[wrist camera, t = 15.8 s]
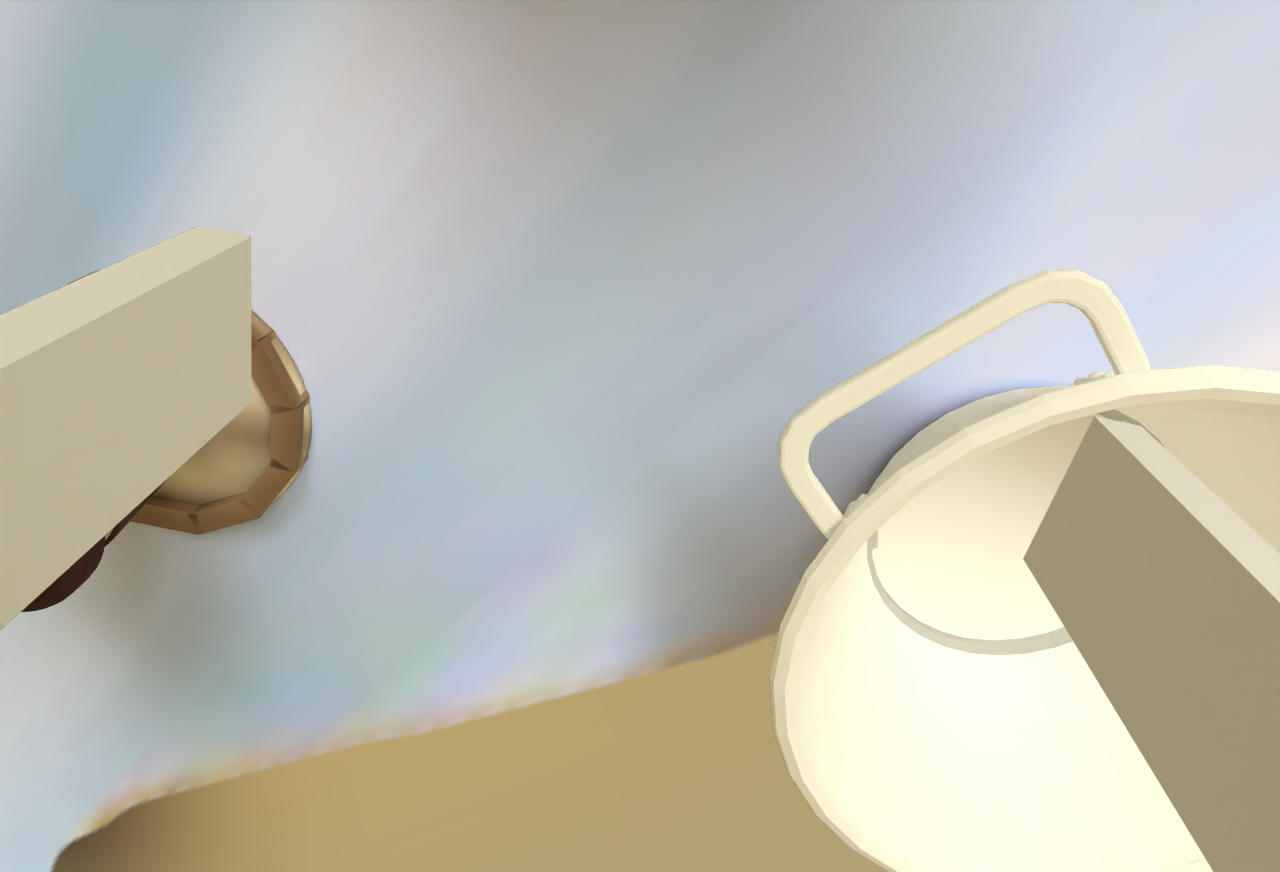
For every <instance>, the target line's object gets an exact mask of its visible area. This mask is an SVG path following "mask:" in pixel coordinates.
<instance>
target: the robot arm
mask: <svg viewBox="0 0 1280 872" xmlns="http://www.w3.org/2000/svg"><path fill="white" fill-rule="evenodd" d="M251 402H252V383H251V237H250V236H245V235H240V234H236V233H231V232H226V231H222V230H217V229H212V228H208V227H203V226H197V227H195V228H193V229H191V230H189V231H186V232H184V233H182V234H180V235H177V236H175V237H173V238H171V239H169V240H166V241H164V242H162V243H160V244H157V245H155V246H153V247H151V248H149V249H146V250H144V251H142V252H140V253H137V254H135V255H133V256H131V257H129V258H126V259H124V260H122V261H120V262H117V263H115V264H113V265H111V266H109V267H106V268H104V269H102V270H100V271H98V272H95V273H93V274H91V275H89V276H86V277H84V278H82V279H80V280H78V281H75V282H73V283H71V284H69V285H66V286H64V287H62V288H60V289H58V290H55V291H53V292H51V293H49V294H46V295H44V296H42V297H40V298H38V299H35V300H33V301H31V302H29V303H27V304H24V305H22V306H20V307H18V308H15V309H13V310H11V311H9V312H7V313H4V314H2V315H0V630H1V629H2V628H4V627H5V626H6V625H7V624H8V623H9V622H10V621H11V620H12V619H13V618H15V617H16V616H17V615H18V614H19V613H20V612H21V611H22V610H23V609H24V608H26V607H27V606H28V605H29V604H30V603H31V602H32V601H33V600H34V599H35V598H37V597H38V596H39V595H40V594H41V593H42V592H43V591H44V590H45V589H46V588H48V587H49V586H50V585H51V584H52V583H53V582H54V581H55V580H56V579H57V578H59V577H60V576H61V575H62V574H63V573H64V572H65V571H66V570H67V569H68V568H70V567H71V566H72V565H73V564H74V563H75V562H76V561H77V560H78V559H79V558H81V557H82V556H83V555H84V554H85V553H86V552H87V551H88V550H89V549H90V548H92V547H93V546H94V545H95V544H96V543H97V542H98V541H99V540H100V539H101V538H103V537H104V536H105V535H106V534H107V533H108V532H109V531H110V530H111V529H112V528H113V527H115V526H116V525H117V524H118V523H119V522H120V521H121V520H122V519H123V518H124V517H126V516H127V515H128V514H129V513H130V512H131V511H132V510H133V509H134V508H135V507H137V506H138V505H139V504H140V503H141V502H142V501H143V500H144V499H145V498H146V497H148V496H149V495H150V494H151V493H152V492H153V491H154V490H155V489H156V488H157V487H159V486H160V485H161V484H162V483H163V482H164V481H165V480H166V479H167V478H168V477H170V476H171V475H172V474H173V473H174V472H175V471H176V470H177V469H178V468H179V467H181V466H182V465H183V464H184V463H185V462H186V461H187V460H188V459H189V458H190V457H192V456H193V455H194V454H195V453H196V452H197V451H198V450H199V449H200V448H201V447H203V446H204V445H205V444H206V443H207V442H208V441H209V440H210V439H211V438H212V437H214V436H215V435H216V434H217V433H218V432H219V431H220V430H221V429H222V428H223V427H225V426H226V425H227V424H228V423H229V422H230V421H231V420H232V419H233V418H234V417H236V416H237V415H238V414H239V413H240V412H241V411H242V410H243V409H244V408H245V407H247V406H248V405H249V404H250V403H251ZM1023 560H1024V561H1025V563H1026V565H1027V566H1028V568H1029V570H1030V571H1031V573H1032V574H1033V576H1034V578H1035V579H1036V581H1037V583H1038V584H1039V586H1040V588H1041V589H1042V591H1043V593H1044V594H1045V596H1046V597H1047V599H1048V601H1049V602H1050V604H1051V606H1052V607H1053V609H1054V611H1055V612H1056V614H1057V616H1058V617H1059V619H1060V620H1061V622H1062V624H1063V625H1064V627H1065V629H1066V630H1067V632H1068V634H1069V635H1070V637H1071V639H1072V640H1073V642H1074V644H1075V645H1076V647H1077V648H1078V650H1079V652H1080V653H1081V655H1082V657H1083V658H1084V660H1085V662H1086V663H1087V665H1088V667H1089V668H1090V670H1091V671H1092V673H1093V675H1094V676H1095V678H1096V680H1097V681H1098V683H1099V685H1100V686H1101V688H1102V690H1103V691H1104V693H1105V695H1106V696H1107V698H1108V699H1109V701H1110V703H1111V704H1112V706H1113V708H1114V709H1115V711H1116V713H1117V714H1118V716H1119V718H1120V719H1121V721H1122V722H1123V724H1124V726H1125V727H1126V729H1127V731H1128V732H1129V734H1130V736H1131V737H1132V739H1133V741H1134V742H1135V744H1136V745H1137V747H1138V749H1139V750H1140V752H1141V754H1142V755H1143V757H1144V759H1145V760H1146V762H1147V764H1148V765H1149V767H1150V769H1151V770H1152V772H1153V773H1154V775H1155V777H1156V778H1157V780H1158V782H1159V783H1160V785H1161V787H1162V788H1163V790H1164V792H1165V793H1166V795H1167V796H1168V798H1169V800H1170V801H1171V803H1172V805H1173V806H1174V808H1175V810H1176V811H1177V813H1178V815H1179V816H1180V818H1181V819H1182V821H1183V823H1184V824H1185V826H1186V828H1187V829H1188V831H1189V833H1190V834H1191V836H1192V838H1193V839H1194V841H1195V843H1196V844H1197V846H1198V847H1199V849H1200V851H1201V852H1202V854H1203V856H1204V857H1205V859H1206V861H1207V862H1208V864H1209V866H1210V867H1211V869H1212V870H1213V872H1280V554H1279V553H1278V552H1277V551H1276V550H1275V549H1274V548H1273V547H1271V546H1270V545H1269V544H1268V543H1267V542H1266V541H1265V540H1264V539H1263V538H1262V537H1261V536H1260V535H1258V534H1257V533H1256V532H1255V531H1254V530H1253V529H1252V528H1251V527H1250V526H1249V525H1248V524H1247V523H1245V522H1244V521H1243V520H1242V519H1241V518H1240V517H1239V516H1238V515H1237V514H1236V513H1235V512H1234V511H1232V510H1231V509H1230V508H1229V507H1228V506H1227V505H1226V504H1225V503H1224V502H1223V501H1222V500H1221V499H1220V498H1218V497H1217V496H1216V495H1215V494H1214V493H1213V492H1212V491H1211V490H1210V489H1209V488H1208V487H1207V486H1205V485H1204V484H1203V483H1202V482H1201V481H1200V480H1199V479H1198V478H1197V477H1196V476H1195V475H1194V474H1192V473H1191V472H1190V471H1189V470H1188V469H1187V468H1186V467H1185V466H1184V465H1183V464H1182V463H1181V462H1179V461H1178V460H1177V459H1176V458H1175V457H1174V456H1173V455H1172V454H1171V453H1170V452H1169V451H1168V450H1167V449H1165V448H1164V447H1163V446H1162V445H1161V444H1160V443H1159V442H1158V441H1157V440H1156V439H1155V438H1154V437H1152V436H1151V435H1150V434H1149V433H1148V432H1147V431H1146V430H1145V429H1144V428H1143V427H1142V426H1139V425H1134V424H1129V423H1125V422H1120V421H1115V420H1110V419H1106V418H1101V417H1096V416H1094V418H1093V420H1092V422H1091V424H1090V426H1089V428H1088V430H1087V432H1086V434H1085V436H1084V438H1083V440H1082V442H1081V444H1080V446H1079V448H1078V450H1077V452H1076V454H1075V456H1074V458H1073V460H1072V462H1071V464H1070V466H1069V468H1068V470H1067V472H1066V474H1065V476H1064V478H1063V480H1062V482H1061V484H1060V486H1059V488H1058V490H1057V492H1056V494H1055V496H1054V498H1053V500H1052V502H1051V504H1050V506H1049V508H1048V510H1047V512H1046V514H1045V516H1044V518H1043V520H1042V522H1041V524H1040V526H1039V528H1038V530H1037V532H1036V534H1035V536H1034V538H1033V540H1032V542H1031V544H1030V546H1029V548H1028V550H1027V552H1026V554H1025V556H1024V558H1023Z"/></svg>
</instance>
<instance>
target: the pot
mask: <svg viewBox="0 0 1280 872" xmlns="http://www.w3.org/2000/svg"><path fill="white" fill-rule="evenodd" d="M1047 303H1066V304H1068V305H1071V306H1073V307H1076V308H1078V309H1080V310H1081V312H1082V313H1083V314H1084V315H1085V316H1086V317H1087V319H1088V320H1089V322H1090V324H1091V326H1092V328H1093V330H1094V332H1095V334H1096V336H1097V338H1098V340H1099V342H1100V344H1101V346H1102V348H1103V350H1104V352H1105V354H1106V356H1107V358H1108V360H1109V362H1110V364H1111V366H1112V368H1113V370H1114V373H1113V372H1107V373H1103V372H1095V373H1092V374H1090V375H1089V376H1088V377H1084V378H1078V379H1076V380H1075V382H1074V384H1075V385H1067V386H1049V387H1038V388H1027V389H1016V390H1011V391H1007V392H1004V393H1000V394H996V395H992V396H988V397H985V398H981V399H978V400H976V401H974V402H971V403H969V404H967V405H965V406H962V407H960V408H958V409H956V410H954V411H951V412H949V413H947V414H945V415H944V416H942V417H941V418H939V419H938V420H936V421H935V422H933V423H932V424H930V425H929V426H927V427H926V428H924V429H923V430H921V431H920V432H918V433H917V434H916V435H915V436H914V437H913V438H912V439H911V440H910V441H909V442H908V443H907V444H905V445H904V446H903V447H902V448H901V449H900V450H899V451H898V452H897V453H896V454H895V455H894V456H893V457H892V459H891V460H890V462H889V463H888V464H887V466H886V467H885V468H884V470H883V471H882V472H881V474H880V475H879V476H878V478H877V479H876V481H875V482H874V484H873V485H872V487H871V489H870V490H869V492H868V493H867V495H866V494H861V495H860V496H859V497H858V499H857V500H856V501H853V502H851V503H850V504H849V505H848V506H847V508H846V512H845V513H844V515H842V513H841V512H840V511H839V509H838V508H837V506H836V505H835V503H834V502H833V501H832V499H831V498H830V496H829V495H828V493H827V492H826V491H825V489H824V488H823V486H822V485H821V483H820V482H819V481H818V479H817V478H816V476H815V475H814V473H813V472H812V470H811V467H810V465H809V462H808V456H809V447H810V445H811V443H812V441H813V439H814V437H815V436H816V435H817V434H818V433H819V432H821V431H822V430H823V429H824V428H826V427H827V426H828V425H829V424H831V423H832V422H833V421H835V420H837V419H838V418H840V417H842V416H844V415H845V414H847V413H849V412H851V411H852V410H854V409H856V408H858V407H859V406H861V405H863V404H865V403H866V402H868V401H870V400H872V399H873V398H875V397H877V396H879V395H880V394H882V393H884V392H886V391H887V390H889V389H891V388H893V387H894V386H896V385H898V384H900V383H901V382H903V381H905V380H907V379H908V378H910V377H912V376H914V375H915V374H917V373H919V372H921V371H922V370H924V369H926V368H928V367H929V366H931V365H933V364H935V363H936V362H938V361H940V360H942V359H943V358H945V357H947V356H949V355H950V354H952V353H954V352H956V351H957V350H959V349H961V348H963V347H965V346H966V345H968V344H970V343H972V342H973V341H975V340H977V339H979V338H980V337H982V336H984V335H986V334H987V333H989V332H991V331H993V330H994V329H996V328H998V327H1000V326H1001V325H1003V324H1005V323H1007V322H1008V321H1010V320H1012V319H1014V318H1015V317H1017V316H1019V315H1021V314H1022V313H1025V312H1027V311H1030V310H1032V309H1035V308H1037V307H1040V306H1042V305H1045V304H1047ZM1094 416H1096V417H1101V418H1106V419H1110V420H1115V421H1120V422H1125V423H1129V424H1134V425H1139V426H1142V427H1143V428H1144V429H1145V430H1146V431H1147V432H1148V433H1149V434H1150V435H1151V436H1152V437H1154V438H1155V439H1156V440H1157V441H1158V442H1159V443H1160V444H1161V445H1162V446H1163V447H1164V448H1165V449H1167V450H1168V451H1169V452H1170V453H1171V454H1172V455H1173V456H1174V457H1175V458H1176V459H1177V460H1178V461H1179V462H1181V463H1182V464H1183V465H1184V466H1185V467H1186V468H1187V469H1188V470H1189V471H1190V472H1191V473H1192V474H1194V475H1195V476H1196V477H1197V478H1198V479H1199V480H1200V481H1201V482H1202V483H1203V484H1204V485H1205V486H1207V487H1208V488H1209V489H1210V490H1211V491H1212V492H1213V493H1214V494H1215V495H1216V496H1217V497H1218V498H1220V499H1221V500H1222V501H1223V502H1224V503H1225V504H1226V505H1227V506H1228V507H1229V508H1230V509H1231V510H1232V511H1234V512H1235V513H1236V514H1237V515H1238V516H1239V517H1240V518H1241V519H1242V520H1243V521H1244V522H1245V523H1247V524H1248V525H1249V526H1250V527H1251V528H1252V529H1253V530H1254V531H1255V532H1256V533H1257V534H1258V535H1260V536H1261V537H1262V538H1263V539H1264V540H1265V541H1266V542H1267V543H1268V544H1269V545H1270V546H1271V547H1273V548H1274V549H1275V550H1276V551H1277V552H1278V553H1279V554H1280V371H1274V370H1263V369H1252V368H1242V367H1231V366H1220V365H1202V366H1191V367H1180V368H1169V369H1158V370H1150V366H1149V363H1148V359H1147V356H1146V354H1145V352H1144V350H1143V348H1142V346H1141V344H1140V342H1139V340H1138V338H1137V335H1136V333H1135V331H1134V329H1133V327H1132V325H1131V323H1130V321H1129V319H1128V317H1127V315H1126V313H1125V311H1124V309H1123V307H1122V305H1121V303H1120V302H1119V301H1118V299H1117V298H1116V297H1115V296H1114V294H1113V293H1112V292H1111V290H1110V289H1109V288H1108V287H1107V285H1106V284H1105V283H1103V282H1102V281H1100V280H1098V279H1096V278H1093V277H1091V276H1089V275H1087V274H1085V273H1083V272H1080V271H1078V270H1076V269H1059V270H1045V271H1042V272H1040V273H1038V274H1035V275H1033V276H1030V277H1028V278H1026V279H1023V280H1021V281H1018V282H1016V283H1013V284H1011V285H1009V286H1007V287H1005V288H1003V289H1001V290H1000V291H998V292H996V293H995V294H993V295H991V296H989V297H988V298H986V299H984V300H983V301H981V302H979V303H977V304H976V305H974V306H972V307H971V308H969V309H967V310H965V311H964V312H962V313H960V314H959V315H957V316H955V317H953V318H952V319H950V320H948V321H947V322H945V323H943V324H941V325H940V326H938V327H936V328H935V329H933V330H931V331H929V332H928V333H926V334H924V335H923V336H921V337H919V338H917V339H916V340H914V341H912V342H911V343H909V344H907V345H905V346H904V347H902V348H900V349H899V350H897V351H895V352H893V353H892V354H890V355H888V356H887V357H885V358H883V359H881V360H880V361H878V362H876V363H875V364H873V365H871V366H870V367H868V368H866V369H864V370H863V371H861V372H859V373H858V374H856V375H854V376H852V377H851V378H849V379H847V380H846V381H844V382H842V383H840V384H839V385H837V386H835V387H834V388H832V389H830V390H828V391H827V392H825V393H823V394H822V395H820V396H818V397H817V398H816V399H814V400H813V401H812V402H811V403H809V404H808V405H807V406H806V407H804V408H803V409H802V410H801V411H799V412H798V413H797V414H796V415H794V416H793V417H792V418H791V419H790V420H789V422H788V424H787V426H786V427H785V429H784V431H783V433H782V435H781V436H780V438H779V468H780V470H781V472H782V474H783V477H784V479H785V481H786V483H787V485H788V487H789V489H790V491H791V492H792V493H793V495H794V496H795V498H796V499H797V500H798V502H799V503H800V504H801V506H802V507H803V509H804V510H805V511H806V513H807V514H808V516H809V517H810V518H811V520H812V521H813V523H814V524H815V525H816V527H817V528H818V529H819V531H820V532H821V533H822V534H823V535H824V536H825V537H826V538H827V539H828V541H827V542H826V544H825V545H824V546H823V548H822V549H821V550H820V552H819V553H818V555H817V556H816V557H815V559H814V560H813V561H812V563H811V564H810V565H809V567H808V568H807V569H806V571H805V572H804V574H803V576H802V578H801V581H800V583H799V585H798V587H797V589H796V591H795V594H794V596H793V598H792V600H791V602H790V605H789V607H788V609H787V611H786V613H785V615H784V618H783V620H782V622H781V624H780V627H779V632H778V637H777V642H776V647H775V652H774V657H773V662H772V668H771V672H770V678H769V683H770V697H771V711H772V725H773V731H774V734H775V737H776V739H777V743H778V745H779V748H780V751H781V754H782V757H783V760H784V762H785V766H786V768H787V771H788V774H789V775H790V777H791V778H792V780H793V781H794V783H795V784H796V786H797V787H798V789H799V790H800V792H801V793H802V795H803V797H804V798H805V800H806V801H807V803H808V804H809V806H810V807H811V808H812V810H813V812H814V813H815V814H816V815H817V816H818V817H819V818H820V819H821V820H822V821H823V822H824V823H825V824H826V825H827V826H828V827H829V828H830V829H832V830H833V831H834V832H835V833H836V834H837V835H838V836H839V837H840V838H841V839H842V840H843V841H844V842H845V843H846V844H847V845H848V846H849V847H850V848H852V849H853V850H855V851H856V852H858V853H859V854H861V855H863V856H865V857H866V858H867V859H869V860H871V861H872V862H874V863H876V864H877V865H879V866H880V867H882V868H884V869H885V870H887V871H889V872H1213V870H1212V869H1211V867H1210V866H1209V864H1208V862H1207V861H1206V859H1205V857H1204V856H1203V854H1202V852H1201V851H1200V849H1199V847H1198V846H1197V844H1196V843H1195V841H1194V839H1193V838H1192V836H1191V834H1190V833H1189V831H1188V829H1187V828H1186V826H1185V824H1184V823H1183V821H1182V819H1181V818H1180V816H1179V815H1178V813H1177V811H1176V810H1175V808H1174V806H1173V805H1172V803H1171V801H1170V800H1169V798H1168V796H1167V795H1166V793H1165V792H1164V790H1163V788H1162V787H1161V785H1160V783H1159V782H1158V780H1157V778H1156V777H1155V775H1154V773H1153V772H1152V770H1151V769H1150V767H1149V765H1148V764H1147V762H1146V760H1145V759H1144V757H1143V755H1142V754H1141V752H1140V750H1139V749H1138V747H1137V745H1136V744H1135V742H1134V741H1133V739H1132V737H1131V736H1130V734H1129V732H1128V731H1127V729H1126V727H1125V726H1124V724H1123V722H1122V721H1121V719H1120V718H1119V716H1118V714H1117V713H1116V711H1115V709H1114V708H1113V706H1112V704H1111V703H1110V701H1109V699H1108V698H1107V696H1106V695H1105V693H1104V691H1103V690H1102V688H1101V686H1100V685H1099V683H1098V681H1097V680H1096V678H1095V676H1094V675H1093V673H1092V671H1091V670H1090V668H1089V667H1088V665H1087V663H1086V662H1085V660H1084V658H1083V657H1082V655H1081V653H1080V652H1079V650H1078V648H1077V647H1076V645H1075V644H1074V642H1073V640H1072V639H1071V637H1070V635H1069V634H1068V632H1067V630H1066V629H1065V627H1064V625H1063V624H1062V622H1061V620H1060V619H1059V617H1058V616H1057V614H1056V612H1055V611H1054V609H1053V607H1052V606H1051V604H1050V602H1049V601H1048V599H1047V597H1046V596H1045V594H1044V593H1043V591H1042V589H1041V588H1040V586H1039V584H1038V583H1037V581H1036V579H1035V578H1034V576H1033V574H1032V573H1031V571H1030V570H1029V568H1028V566H1027V565H1026V563H1025V561H1024V560H1023V558H1024V556H1025V554H1026V552H1027V550H1028V548H1029V546H1030V544H1031V542H1032V540H1033V538H1034V536H1035V534H1036V532H1037V530H1038V528H1039V526H1040V524H1041V522H1042V520H1043V518H1044V516H1045V514H1046V512H1047V510H1048V508H1049V506H1050V504H1051V502H1052V500H1053V498H1054V496H1055V494H1056V492H1057V490H1058V488H1059V486H1060V484H1061V482H1062V480H1063V478H1064V476H1065V474H1066V472H1067V470H1068V468H1069V466H1070V464H1071V462H1072V460H1073V458H1074V456H1075V454H1076V452H1077V450H1078V448H1079V446H1080V444H1081V442H1082V440H1083V438H1084V436H1085V434H1086V432H1087V430H1088V428H1089V426H1090V424H1091V422H1092V420H1093V418H1094Z"/></svg>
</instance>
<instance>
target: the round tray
mask: <svg viewBox="0 0 1280 872" xmlns="http://www.w3.org/2000/svg"><path fill="white" fill-rule="evenodd" d="M99 271H100V270H99ZM96 272H98V271H96ZM93 273H95V272H93ZM93 273H91V274H93ZM91 274H88V275H86V276H89V275H91ZM86 276H84V277H86ZM84 277H82V278H84ZM82 278H80V279H82ZM80 279H77V280H75V281H78V280H80ZM75 281H73V282H75ZM73 282H71V283H73ZM71 283H69V284H71ZM69 284H67V285H69ZM272 330H273V329H272V328H270V327H269V326H268V325H267V324H266V323H265V322H264V321H263V320H262V319H261V318H260V317H259V316H258V315H257V314H255V313H254V312H253V311H252V310H251V383H252V402H251V403H250V404H249V405H248V406H247V407H245V408H244V409H243V410H242V411H241V412H240V413H239V414H238V415H237V416H236V417H234V418H233V419H232V420H231V421H230V422H229V423H228V424H227V425H226V426H225V427H223V428H222V429H221V430H220V431H219V432H218V433H217V434H216V435H215V436H214V437H212V438H211V439H210V440H209V441H208V442H207V443H206V444H205V445H204V446H203V447H201V448H200V449H199V450H198V451H197V452H196V453H195V454H194V455H193V456H192V457H190V458H189V459H188V460H187V461H186V462H185V463H184V464H183V465H182V466H181V467H179V468H178V469H177V470H176V471H175V472H174V473H173V474H172V475H171V476H170V477H168V478H167V480H166V481H165V482H164V483H163V485H162V486H161V487H160V488H159V489H158V490H157V491H156V492H155V494H154V495H153V496H152V497H151V498H150V499H149V500H148V501H147V502H146V503H145V505H144V506H143V507H142V508H141V509H140V510H139V511H138V512H137V513H136V515H135V516H134V517H133V518H132V519H131V520H130V521H132V522H137V523H142V524H147V525H153V526H158V527H163V528H168V529H173V530H178V531H183V532H188V533H194V534H203V533H207V532H210V531H214V530H217V529H221V528H225V527H228V526H232V525H235V524H239V523H242V522H246V521H249V520H253V519H257V518H259V517H260V516H261V515H262V514H263V513H264V511H265V510H266V509H267V508H268V507H269V505H270V504H272V503H273V502H274V501H276V500H277V499H278V498H279V497H280V496H281V495H282V494H283V493H284V492H285V491H286V490H287V489H288V487H289V486H290V485H291V484H292V482H293V481H294V480H295V478H296V477H297V475H298V474H299V472H300V471H301V468H302V466H303V464H304V462H305V461H306V460H307V458H308V450H309V446H310V441H311V432H312V421H311V409H310V404H309V394H308V392H307V390H306V388H305V385H304V382H303V379H302V377H301V375H300V372H299V370H298V368H297V366H296V364H295V362H294V360H293V359H292V357H291V355H290V354H289V352H288V351H287V349H286V347H285V346H284V345H283V343H282V342H281V341H280V339H279V338H278V337H277V335H276V333H275V332H274V331H272Z"/></svg>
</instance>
